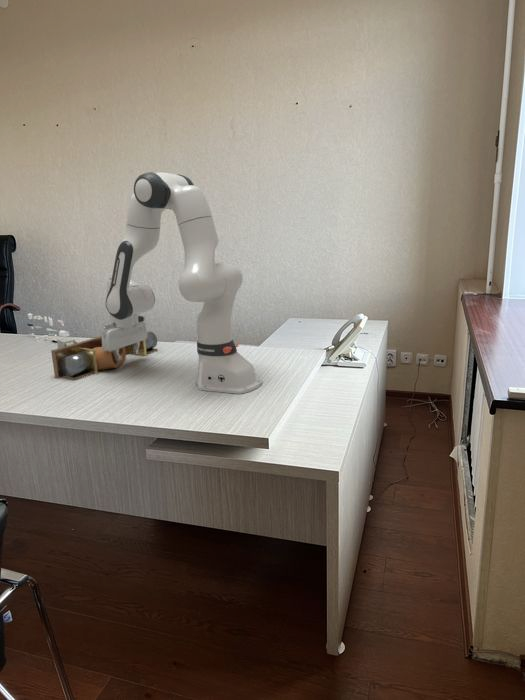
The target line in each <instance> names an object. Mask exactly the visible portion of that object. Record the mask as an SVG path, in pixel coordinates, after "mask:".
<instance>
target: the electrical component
mask: <svg viewBox="0 0 525 700" xmlns="http://www.w3.org/2000/svg"><path fill="white" fill-rule="evenodd" d="M56 340H57V343H56V344H57V349H58V348H61V347H65V346H68V345H72V344H75V343H78V341H76V340H75V339H74V338H71V337H69V336H66V337H62V338H57V339H56Z"/></svg>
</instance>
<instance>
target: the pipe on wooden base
mask: <svg viewBox="0 0 525 700" xmlns="http://www.w3.org/2000/svg"><path fill="white" fill-rule="evenodd" d="M157 345H158V338H157V335H156V333H154V332H153V331H151V330H150V331H147V338H146V340H143V341H140V346H139V349H138V354H136V355H135V356H138V355H139V356H138V357H144V356H145V357H147V356H148V355H149V354H152V353H154V351H155V352H157V351H158V348H156V347H157ZM97 347H102V335H101V336H97V337H93V338H90V339H86V340H82V341H79V342H77V343H75V344H72V345H68V346H65V347H61V348H58V347H57V348H55V349H51V350H50V351H51V359H52V366H53V373H54V378H56V379H60V378H62V379H67V380H71V381H77V380H79V378H80V379H82V377H83V378H85V377H88V376H91V375H95V374H96V375H98V374H99V373H98V371H99V370H97V361H96V353H95V350H94V349H93V348H97ZM133 349H134V345H133V344H131V345H128V346H125V352H126V356H127V355H132V356H134V355H133V354H132V350H133ZM151 352H152V353H151ZM90 374H91V375H90ZM87 375H88V376H87ZM84 376H85V377H84Z"/></svg>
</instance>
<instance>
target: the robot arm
mask: <svg viewBox="0 0 525 700" xmlns="http://www.w3.org/2000/svg"><path fill="white" fill-rule="evenodd" d="M166 210H172V211H173V213H174V215H175V218H176V223H177V226H178V231H179V233H180V237H181V242H182V246H183V252H184V263H183V264H184V265H183V271H182V273H181V275H180V277H179V280H178V289H179V292H180V294H181V296H182V297H183V298H184V299H185V300H187V302H190V303H191V302H193V303H203V305H202V309H201V310H200V312H199V313H198V314H197V315H198V316H197V317H196V318H197V319H196V326H197V328H196V329H197V330H196V331H197V341H196V350H197V354H198V360H197V361H198V363H197V364H198V365H197V372H196V373H197V374H196V380H195V384H196V385H197V390H199V391H207V392H215V393H216V392H218V393H227V394H236V395H237V394H240V395H241V394H245V393H249V392H252V391H255V390H256V389H257V388H259V387H260V386H262V385H263V379H262V378H260V377H257V376H256V371H255V368H254V367H255V366H254V365H253V364H252V363H251V362H249V361H248V360H247V359H246V358H245V357H244V356H243V355H241V354H240V353H239V352H238V349H237V348H238V347H240V343H239V342H238V343H235V342H234V340H233V338H232V337H233V336H232V316H233V314H232V313H233V309H234V304H235V300H236V297H237V293H238V291H239V289H240V288H241V286H242V284H243V274H242V271H241V269H240V268H239V267H238V266H237V265H236V264H234V263H229V262H225V261H224V262H216V261H215V260H216V259H215V252H216V248H217V246H218V244H219V237H218V233H217V230H216V225H215V222H214V218H213V215H212V211H211V208H210V206H209V204H208V200H207V199H206V196H205V194H204V192H203V190H202V189H201V188H200V187H199V186H197V185H194V183H193V181H192V180H191V179H190V178H189V177H187V176H185V175H182V174H179V173H178V174H177V173H176V174H175V173H170V172H165V171H164V172H163V171H162V172H161V171H160V172H152V171H151V172H144V173H142V174H140V175H138V177H137V178H136V179H135V181H134V185H133V194H131V197H130V200H129V203H128V209H127V213H126V226H125V232H124V235H123V237H122V241H121V243H119V245H118V247H117V250H116V255H115V259H114V264H113V270H112V275H111V276H112V277H111V278H109V279H108V280H107V282H106V283H107V284H106V298H105V308H106V310H107V312H108V313H109V319H110V320H109V321H110V322H109V323H110V324H105V326H104V327H103V328H102V330H101V333H102V334H101V336H102V348H103V350H104V351H112V353H113V354H114V355H115V358H116V361H120V360H122V355H119V353H118V352H119V348H122V347H125V346H128V345H131V344H133V345H134V349H133V350H132V354H133V355H132V354H131V355H132V356H137V355H136V354H138V349H139V346H140V341H143V340H146V338H147V332H148V329H147V324H146V317H145V315H140V314H141V313H142V314H143V313H146V312H149V311H150V310H152V309H153V308H154V306H155V302H156V297H155V293H154V292H153V290H152V288H150V287H149V286H148V285H144V284H141V283H138V282H136V281H134V280H132V279H131V278H132V273H133V268H134V266H135V265H136V263H138V260H140V259H141V258H142V257H144V256H145V255H147V254H148V253H149V252H152V251H153V250H154V249H155V248H156V247H157V246H158V242H159V240H160V235H161V219H162V213H163V212H164V211H166Z"/></svg>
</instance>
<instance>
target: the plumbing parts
mask: <svg viewBox="0 0 525 700" xmlns="http://www.w3.org/2000/svg"><path fill="white" fill-rule="evenodd" d="M26 315H27V318H28V319H29V320H38V321H40V320H44V321H43V322H44V323H48V324H49V326H50V327H53V326H54V321H53V318H52V317H50V316H46V315H45V316H44V317H42V316H41V315H34V316H33V313H31V312H29V313H28V314H26ZM47 317H48V318H47ZM57 322H58V323H60V324H61V326H62V327H64V326H65V324H64V321H63V320H60V319H57ZM27 326H28V327H31V330H34V328H35V329H43V326H39V325H34V324H31V323H27ZM50 327H48V328H46V329H45V330H46V331H48V332H51V331H52V332H58V336H59V337H62V338H66V337H69V336H71V335H70V332H69V331H68V330H63V329H61V330H59V331H58V330H55V329H52V328H50ZM28 336H30V337H32V338H35V342H38V341H43V340H45V341H48V339H49V337H48V336H49V334H45V335H41V336H38V335H36V334H35V333H34V332H32V333H28ZM50 341H51V342H52V343H54V344H57V339H54V338H50Z"/></svg>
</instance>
